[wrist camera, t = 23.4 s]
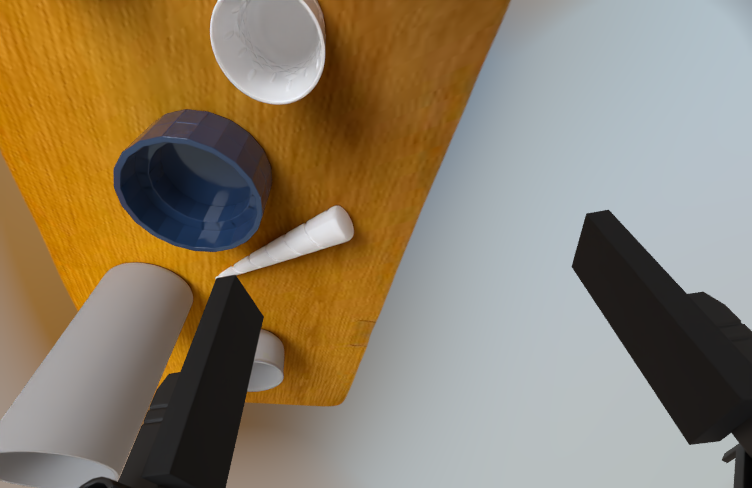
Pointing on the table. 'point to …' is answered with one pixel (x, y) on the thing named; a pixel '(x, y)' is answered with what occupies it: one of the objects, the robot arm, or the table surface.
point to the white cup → (270, 46)
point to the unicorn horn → (299, 241)
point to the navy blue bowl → (195, 181)
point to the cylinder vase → (95, 382)
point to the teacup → (267, 363)
